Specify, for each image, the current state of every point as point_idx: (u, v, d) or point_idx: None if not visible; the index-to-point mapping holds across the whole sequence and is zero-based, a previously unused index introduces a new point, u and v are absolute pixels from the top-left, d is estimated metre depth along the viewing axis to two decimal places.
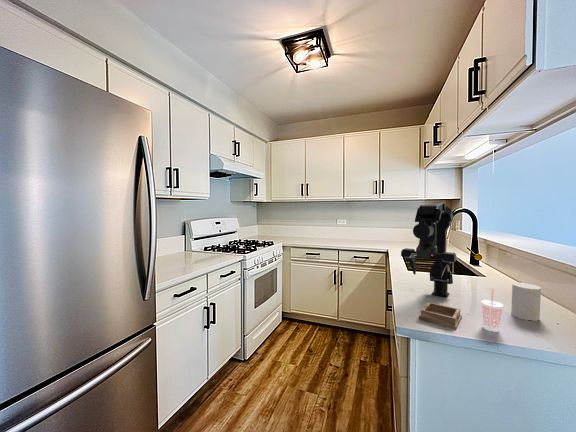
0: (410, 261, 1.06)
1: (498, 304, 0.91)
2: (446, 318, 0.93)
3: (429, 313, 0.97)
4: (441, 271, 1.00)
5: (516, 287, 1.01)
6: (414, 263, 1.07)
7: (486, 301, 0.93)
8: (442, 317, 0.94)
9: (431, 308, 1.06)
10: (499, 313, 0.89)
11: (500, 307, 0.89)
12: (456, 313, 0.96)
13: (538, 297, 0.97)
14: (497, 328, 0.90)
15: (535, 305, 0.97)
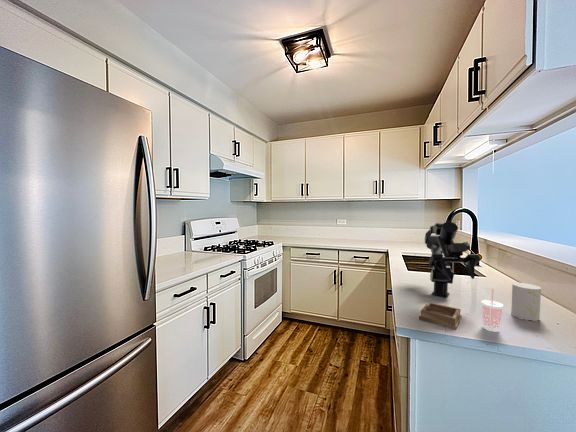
0: (443, 264, 1.08)
1: (498, 304, 0.91)
2: (446, 318, 0.93)
3: (429, 313, 0.97)
4: (472, 270, 1.06)
5: (516, 287, 1.01)
6: None
7: (486, 301, 0.93)
8: (442, 317, 0.94)
9: (431, 308, 1.06)
10: (499, 313, 0.89)
11: (500, 307, 0.89)
12: (456, 313, 0.96)
13: (538, 297, 0.97)
14: (497, 328, 0.90)
15: (535, 305, 0.97)
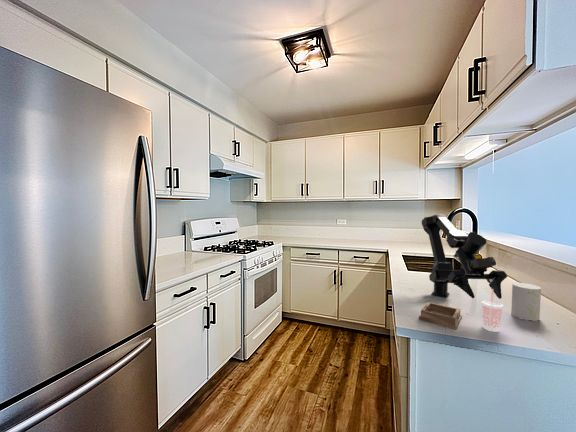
0: (465, 281, 0.97)
1: (498, 304, 0.91)
2: (446, 318, 0.93)
3: (429, 313, 0.97)
4: (499, 289, 0.95)
5: (516, 287, 1.01)
6: None
7: (486, 301, 0.93)
8: (442, 317, 0.94)
9: (431, 308, 1.06)
10: (499, 313, 0.89)
11: (500, 307, 0.89)
12: (456, 313, 0.96)
13: (538, 297, 0.97)
14: (497, 328, 0.90)
15: (535, 305, 0.97)
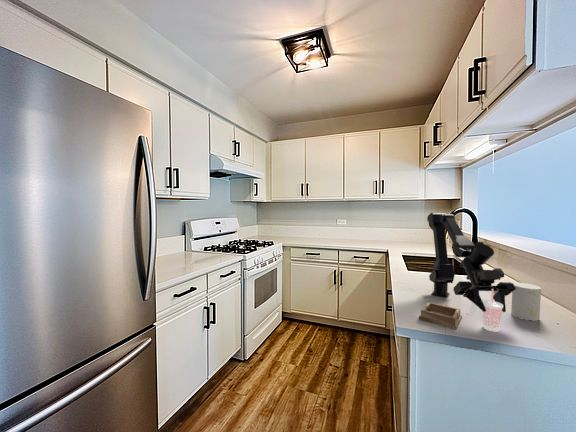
0: (476, 294, 0.93)
1: (498, 304, 0.91)
2: (446, 318, 0.93)
3: (429, 313, 0.97)
4: (503, 302, 0.91)
5: (516, 287, 1.01)
6: None
7: (486, 301, 0.93)
8: (442, 317, 0.94)
9: (431, 308, 1.06)
10: (499, 313, 0.89)
11: (500, 307, 0.89)
12: (456, 313, 0.96)
13: (538, 297, 0.97)
14: (497, 328, 0.90)
15: (535, 305, 0.97)
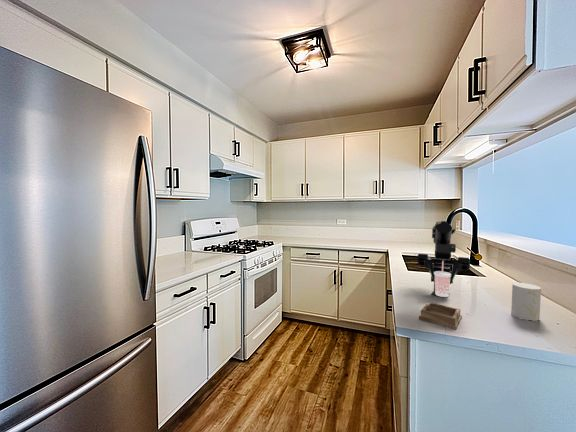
0: (430, 264, 1.09)
1: (447, 274, 1.05)
2: (446, 318, 0.93)
3: (429, 313, 0.97)
4: (453, 273, 1.04)
5: (516, 287, 1.01)
6: (432, 269, 1.10)
7: (440, 272, 1.08)
8: (442, 317, 0.94)
9: (431, 308, 1.06)
10: (444, 281, 1.04)
11: (444, 276, 1.03)
12: (456, 313, 0.96)
13: (538, 297, 0.97)
14: (443, 294, 1.05)
15: (535, 305, 0.97)
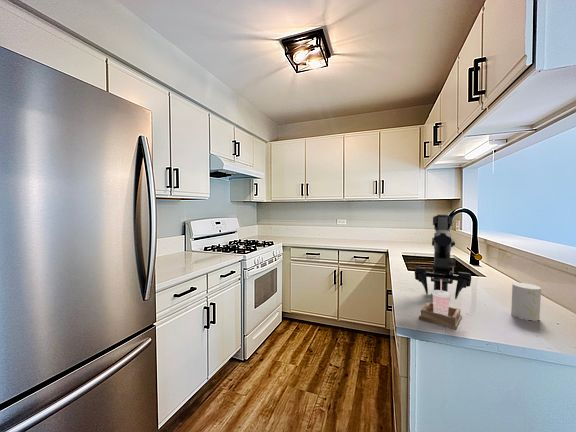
0: (424, 278, 1.03)
1: (446, 294, 0.98)
2: (446, 318, 0.93)
3: (429, 313, 0.97)
4: (457, 290, 0.96)
5: (516, 287, 1.01)
6: None
7: (439, 291, 1.01)
8: (442, 317, 0.94)
9: (431, 308, 1.06)
10: (443, 301, 0.97)
11: (443, 296, 0.96)
12: (456, 313, 0.96)
13: (538, 297, 0.97)
14: None
15: (535, 305, 0.97)
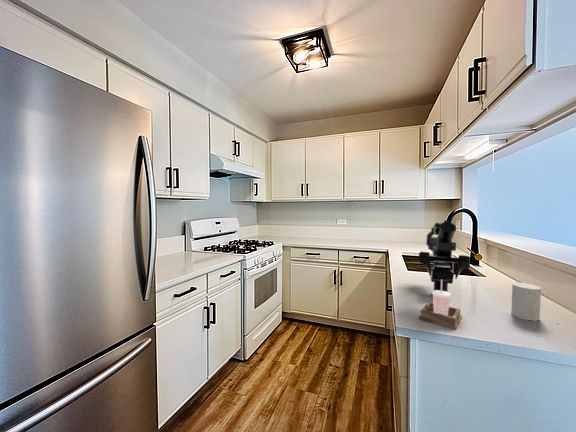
0: (427, 261, 1.14)
1: (446, 294, 0.98)
2: (446, 318, 0.93)
3: (429, 313, 0.97)
4: (457, 270, 1.07)
5: (516, 287, 1.01)
6: None
7: (439, 291, 1.01)
8: (442, 317, 0.94)
9: (431, 308, 1.06)
10: (443, 301, 0.97)
11: (443, 296, 0.96)
12: (456, 313, 0.96)
13: (538, 297, 0.97)
14: None
15: (535, 305, 0.97)
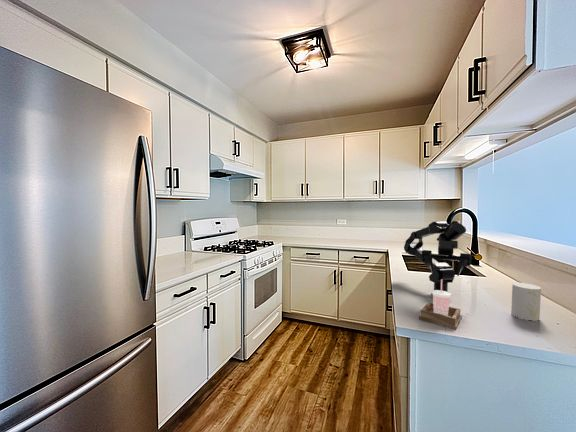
0: (430, 259, 1.17)
1: (446, 294, 0.98)
2: (446, 318, 0.93)
3: (429, 313, 0.97)
4: (459, 268, 1.10)
5: (516, 287, 1.01)
6: (432, 264, 1.17)
7: (439, 291, 1.01)
8: (442, 317, 0.94)
9: (431, 308, 1.06)
10: (443, 301, 0.97)
11: (443, 296, 0.96)
12: (456, 313, 0.96)
13: (538, 297, 0.97)
14: None
15: (535, 305, 0.97)
